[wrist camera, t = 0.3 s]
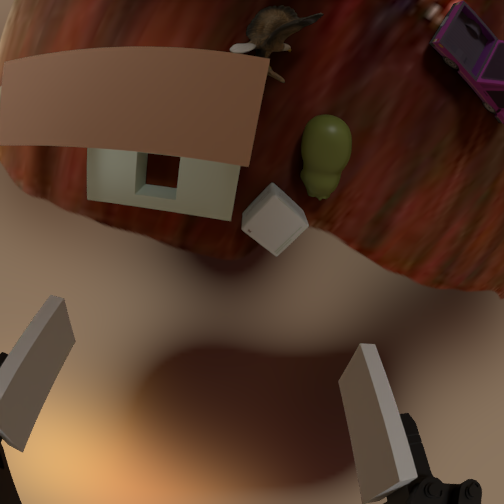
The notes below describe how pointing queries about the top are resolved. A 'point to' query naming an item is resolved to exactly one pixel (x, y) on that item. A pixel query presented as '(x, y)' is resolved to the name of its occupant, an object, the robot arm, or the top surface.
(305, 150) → the pear
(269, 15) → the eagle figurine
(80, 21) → the top surface
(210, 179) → the socket board
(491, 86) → the toy truck
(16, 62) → the beige arch frame
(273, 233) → the small box
